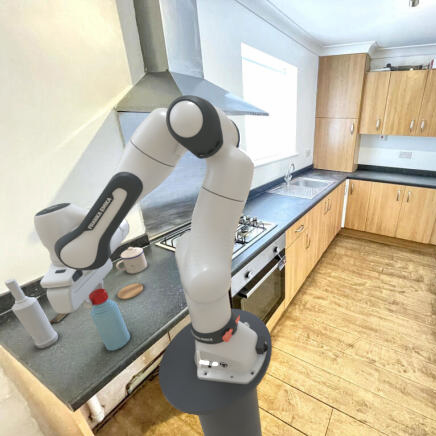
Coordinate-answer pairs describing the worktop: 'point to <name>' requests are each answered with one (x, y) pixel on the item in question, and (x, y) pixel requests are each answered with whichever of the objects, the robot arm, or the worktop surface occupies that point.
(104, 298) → the cap
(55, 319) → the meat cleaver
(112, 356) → the worktop surface
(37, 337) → the bottle
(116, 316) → the water bottle
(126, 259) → the teacup with lid
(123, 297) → the coaster
